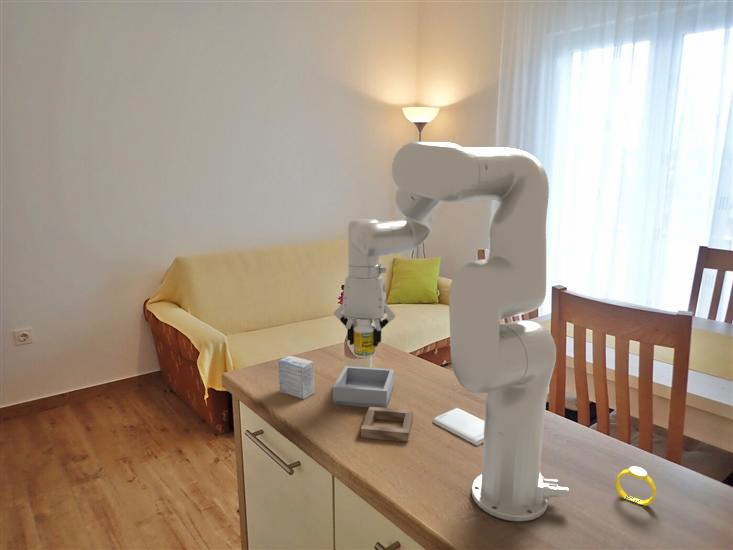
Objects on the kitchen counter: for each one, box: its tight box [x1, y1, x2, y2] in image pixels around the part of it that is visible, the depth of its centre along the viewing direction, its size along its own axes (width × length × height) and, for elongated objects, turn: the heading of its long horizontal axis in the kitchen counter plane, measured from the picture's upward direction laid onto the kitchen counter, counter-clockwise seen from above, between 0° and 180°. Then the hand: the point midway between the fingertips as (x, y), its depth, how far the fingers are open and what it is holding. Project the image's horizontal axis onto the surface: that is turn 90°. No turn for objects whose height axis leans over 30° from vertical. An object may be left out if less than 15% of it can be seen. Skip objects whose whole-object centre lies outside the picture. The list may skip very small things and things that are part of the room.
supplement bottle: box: [353, 318, 376, 359], centre depth 125 cm, size 5×5×10 cm
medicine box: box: [278, 355, 315, 400], centre depth 128 cm, size 8×4×9 cm, turn 58°
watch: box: [615, 465, 657, 507], centre depth 87 cm, size 6×3×6 cm, turn 51°
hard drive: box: [432, 407, 485, 446], centre depth 112 cm, size 2×8×12 cm
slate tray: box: [332, 365, 395, 408], centre depth 127 cm, size 13×13×4 cm
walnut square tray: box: [360, 407, 414, 442], centre depth 112 cm, size 10×10×2 cm
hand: (364, 343), depth 125 cm, fingers closed on supplement bottle, 5 cm apart
